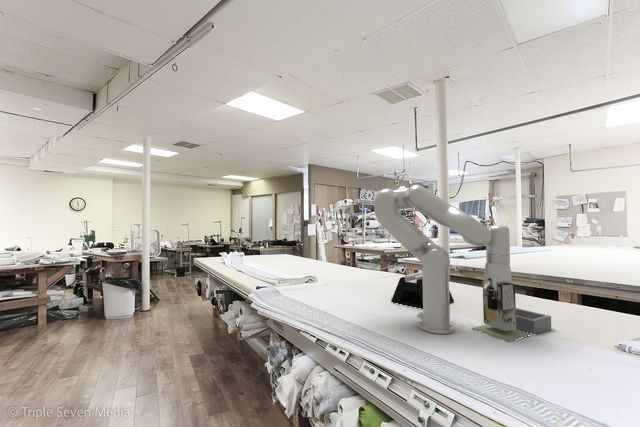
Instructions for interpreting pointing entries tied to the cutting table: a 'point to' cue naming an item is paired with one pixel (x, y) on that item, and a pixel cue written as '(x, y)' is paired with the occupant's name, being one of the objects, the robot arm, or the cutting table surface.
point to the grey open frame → (532, 321)
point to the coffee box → (501, 308)
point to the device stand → (411, 291)
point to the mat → (501, 333)
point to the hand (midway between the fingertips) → (498, 307)
